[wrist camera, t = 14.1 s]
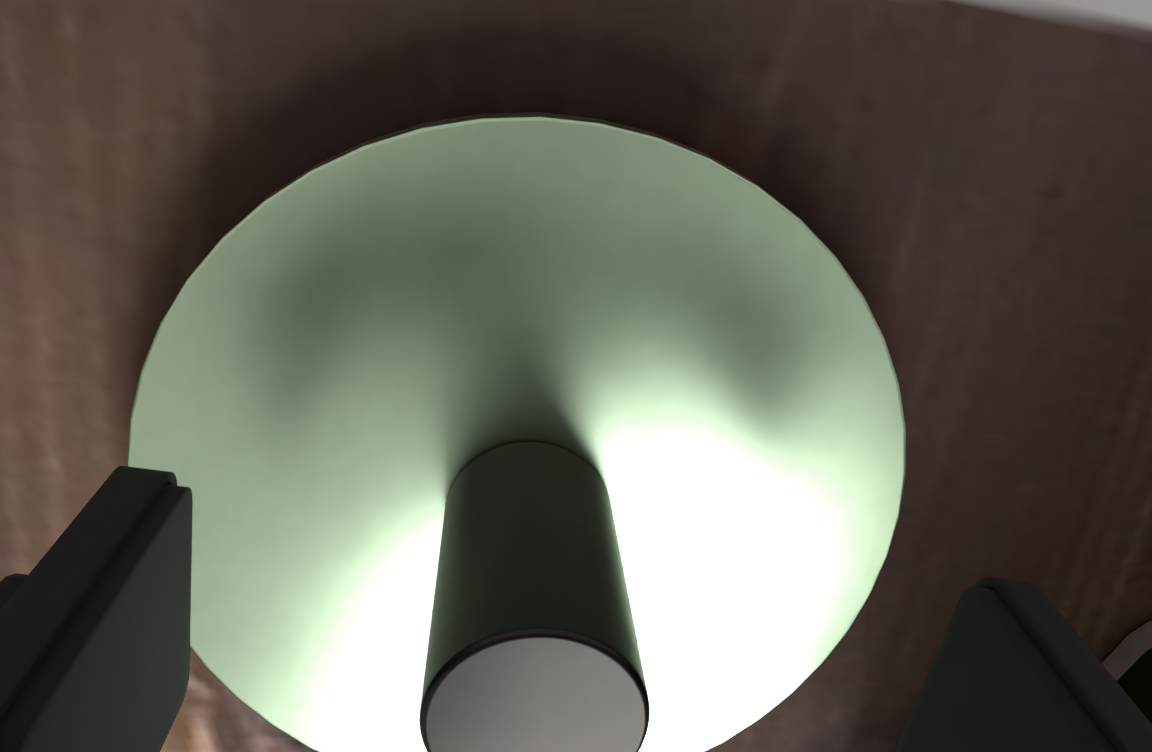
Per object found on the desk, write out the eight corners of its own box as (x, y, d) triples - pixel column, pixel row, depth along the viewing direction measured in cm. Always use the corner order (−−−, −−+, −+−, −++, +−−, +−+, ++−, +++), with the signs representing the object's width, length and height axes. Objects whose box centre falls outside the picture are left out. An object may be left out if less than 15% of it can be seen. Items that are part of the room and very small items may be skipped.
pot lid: (153, 33, 12) (-101, 66, 7) (983, 181, 14) (1262, 297, 9) (150, 723, 17) (-7, 1046, 12) (776, 776, 18) (879, 1082, 13)
